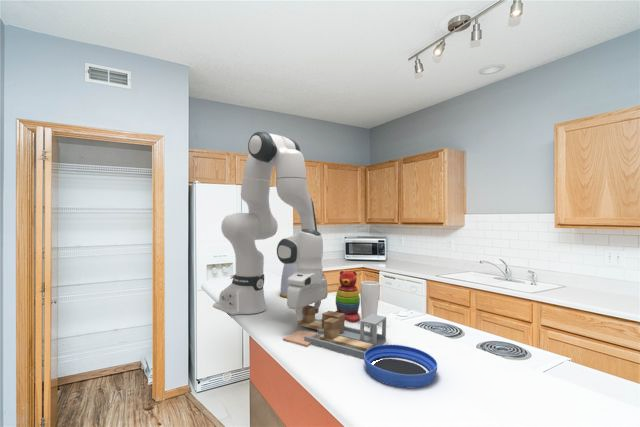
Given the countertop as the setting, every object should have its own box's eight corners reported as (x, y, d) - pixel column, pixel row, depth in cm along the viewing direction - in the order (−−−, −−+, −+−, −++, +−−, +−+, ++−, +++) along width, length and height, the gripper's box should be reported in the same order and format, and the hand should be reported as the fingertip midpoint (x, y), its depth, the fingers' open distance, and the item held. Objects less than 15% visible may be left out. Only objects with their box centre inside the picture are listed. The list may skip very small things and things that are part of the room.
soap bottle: (306, 294, 162) (308, 240, 162) (298, 299, 151) (299, 242, 151) (285, 291, 166) (287, 239, 166) (275, 297, 155) (277, 241, 155)
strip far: (297, 324, 114) (297, 306, 114) (304, 321, 117) (304, 304, 117) (338, 334, 105) (338, 315, 105) (343, 331, 109) (344, 312, 109)
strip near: (319, 340, 100) (319, 319, 100) (326, 336, 104) (326, 316, 104) (367, 353, 92) (368, 330, 92) (373, 348, 95) (374, 327, 95)
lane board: (304, 342, 100) (304, 317, 100) (330, 328, 114) (331, 306, 114) (364, 359, 90) (365, 331, 90) (385, 341, 103) (386, 316, 104)
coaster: (282, 340, 102) (282, 338, 102) (299, 331, 110) (299, 330, 110) (306, 346, 97) (306, 344, 97) (322, 337, 105) (322, 335, 105)
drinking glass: (378, 327, 116) (379, 285, 116) (358, 326, 117) (359, 283, 117) (378, 321, 122) (379, 281, 122) (360, 320, 124) (361, 280, 124)
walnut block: (321, 327, 108) (322, 313, 108) (328, 323, 112) (329, 310, 112) (337, 331, 105) (338, 317, 105) (344, 327, 109) (344, 313, 109)
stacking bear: (329, 319, 124) (330, 271, 124) (337, 312, 133) (339, 268, 133) (356, 323, 120) (358, 274, 120) (363, 315, 129) (365, 270, 129)
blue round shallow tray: (426, 399, 71) (426, 382, 72) (351, 375, 81) (352, 361, 81) (443, 367, 87) (444, 354, 87) (379, 351, 96) (379, 339, 96)
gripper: (317, 271, 124) (316, 308, 124) (284, 279, 107) (282, 322, 107) (332, 273, 121) (331, 311, 121) (300, 282, 104) (298, 326, 104)
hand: (308, 316), depth 114 cm, fingers open, 8 cm apart
